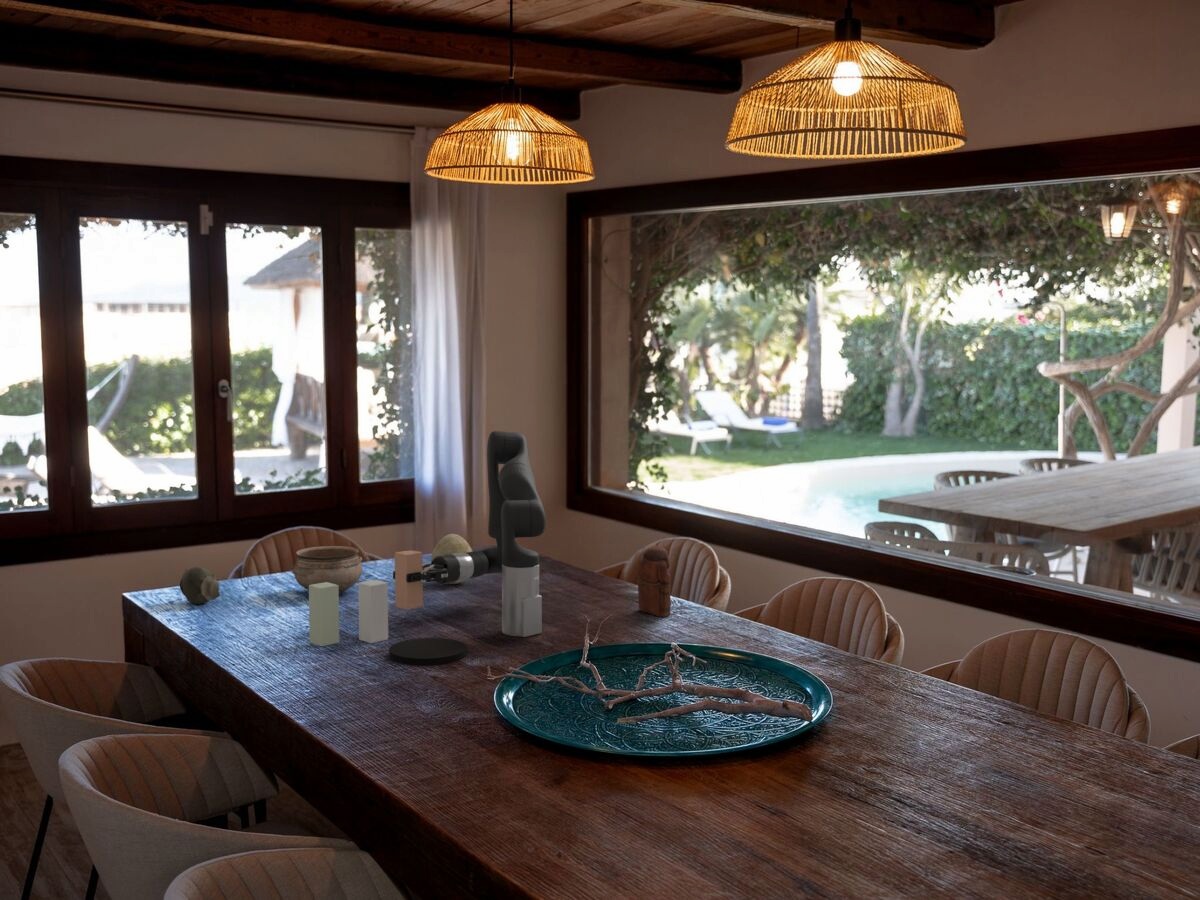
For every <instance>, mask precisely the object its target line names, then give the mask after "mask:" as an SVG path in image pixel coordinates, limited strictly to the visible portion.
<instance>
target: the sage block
mask: <svg viewBox="0 0 1200 900" xmlns="http://www.w3.org/2000/svg"><path fill="white" fill-rule="evenodd" d="M339 595H340V594H339V585H336V584H332V583H328V582H324V583H318V584H312V585H309V590H308V610H309V611H308V612H309V613H308V619H309V620H308V621H309V625H308V627H309V643H311V644H314V645H316V646H320V647H324V646H329V645H334V644H339V643H340V612H339V611H340V604H339V602H340V600H339V598H340V596H339Z"/></svg>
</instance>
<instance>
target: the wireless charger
mask: <svg viewBox="0 0 1200 900" xmlns="http://www.w3.org/2000/svg"><path fill="white" fill-rule="evenodd" d="M388 655H389V656H388V657H389V659H390V660H391V661H392V662H395V663H397V664H402V665H407V666H415V667H416V666H418V667H423V666H424V667H428V666H429V667H430V666H431V667H432V666H440V665H441V666H442V665H448V664H453V663H456V662H459V661H462V660H463V659H464V658H466V656H467V655H468V647H467V644H466V643H464V642H463V641H460V640H456V639H451V638H444V637H442V638H441V637H420V638H412V639H407V640H402V641H399V642H396V643H394V644H392V645H390V647H389V650H388Z"/></svg>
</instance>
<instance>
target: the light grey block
mask: <svg viewBox="0 0 1200 900" xmlns="http://www.w3.org/2000/svg"><path fill="white" fill-rule="evenodd" d="M358 640H360V641H363V642H367V643H369V644H374V643H378V642H383V641H387V640H389V582H385V581H382V580H378V579H371V580H366V581H362V582H361V581H360V582H358Z"/></svg>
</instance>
